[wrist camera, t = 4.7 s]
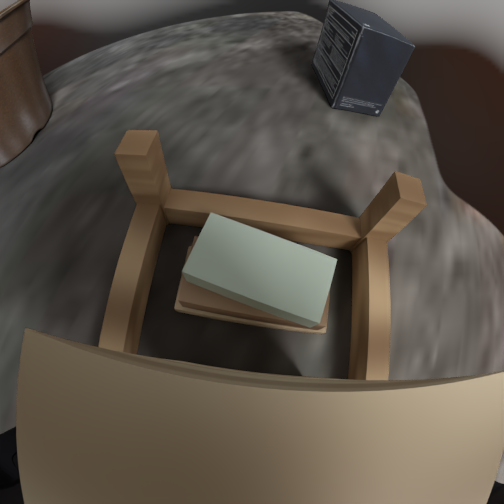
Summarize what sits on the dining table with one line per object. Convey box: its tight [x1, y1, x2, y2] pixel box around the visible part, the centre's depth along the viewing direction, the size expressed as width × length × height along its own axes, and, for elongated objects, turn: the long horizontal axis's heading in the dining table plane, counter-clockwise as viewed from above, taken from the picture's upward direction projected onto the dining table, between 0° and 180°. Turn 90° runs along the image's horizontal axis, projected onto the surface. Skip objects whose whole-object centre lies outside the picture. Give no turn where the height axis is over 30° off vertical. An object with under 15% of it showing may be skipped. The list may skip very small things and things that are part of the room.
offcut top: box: [182, 213, 337, 328], centre depth 14 cm, size 4×7×2 cm, turn 70°
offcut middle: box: [178, 236, 330, 330], centre depth 16 cm, size 4×8×2 cm, turn 81°
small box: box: [312, 0, 415, 116], centre depth 23 cm, size 11×6×10 cm, turn 3°
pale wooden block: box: [16, 327, 504, 504], centre depth 8 cm, size 4×7×14 cm, turn 83°
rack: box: [98, 130, 427, 380], centre depth 13 cm, size 17×16×7 cm
